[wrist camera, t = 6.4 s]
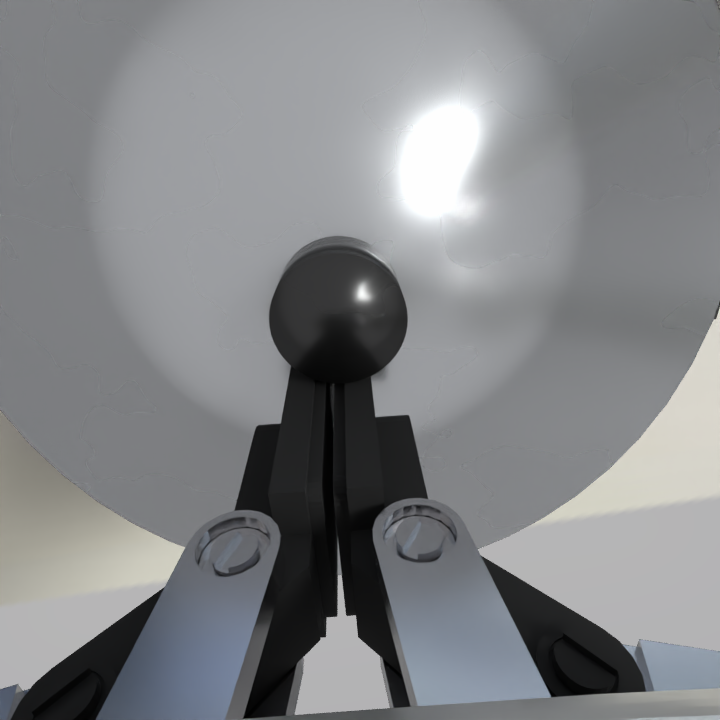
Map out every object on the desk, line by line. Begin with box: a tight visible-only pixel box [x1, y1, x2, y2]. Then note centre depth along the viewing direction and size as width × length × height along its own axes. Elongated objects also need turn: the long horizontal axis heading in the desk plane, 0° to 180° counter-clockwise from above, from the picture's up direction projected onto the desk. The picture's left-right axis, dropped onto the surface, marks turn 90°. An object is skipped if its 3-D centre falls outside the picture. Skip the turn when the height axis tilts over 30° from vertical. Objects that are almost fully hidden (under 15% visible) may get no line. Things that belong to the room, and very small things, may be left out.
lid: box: [0, 0, 720, 575], centre depth 10 cm, size 16×16×3 cm
